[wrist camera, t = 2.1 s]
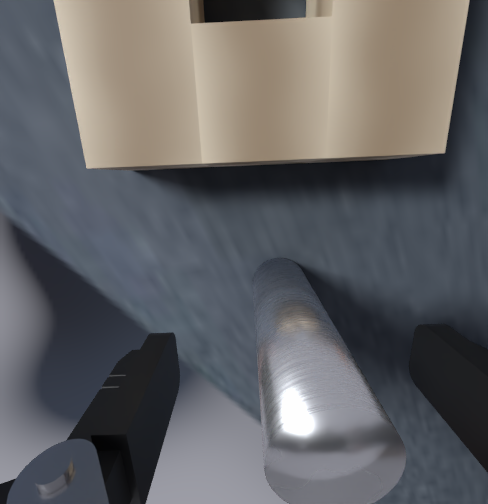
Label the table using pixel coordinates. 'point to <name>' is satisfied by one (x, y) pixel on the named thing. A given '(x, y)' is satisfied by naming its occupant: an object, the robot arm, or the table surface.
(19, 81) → the table surface
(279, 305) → the steel pin
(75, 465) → the robot arm
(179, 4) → the oak hole block
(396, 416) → the table surface
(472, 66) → the table surface
